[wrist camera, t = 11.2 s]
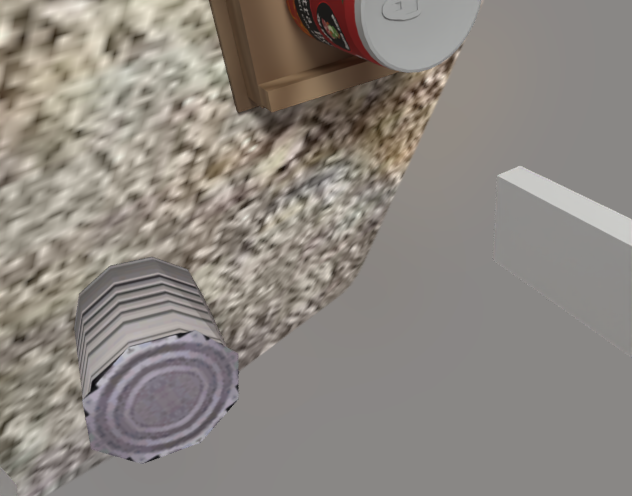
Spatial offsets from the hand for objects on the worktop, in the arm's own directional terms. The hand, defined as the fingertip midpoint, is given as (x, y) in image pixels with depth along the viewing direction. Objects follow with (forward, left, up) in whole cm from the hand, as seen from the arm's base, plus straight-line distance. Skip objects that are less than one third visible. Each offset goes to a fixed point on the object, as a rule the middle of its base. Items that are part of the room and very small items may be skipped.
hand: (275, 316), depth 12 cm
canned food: (+16, +2, -28) cm, 32 cm away
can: (-5, -21, -32) cm, 38 cm away
